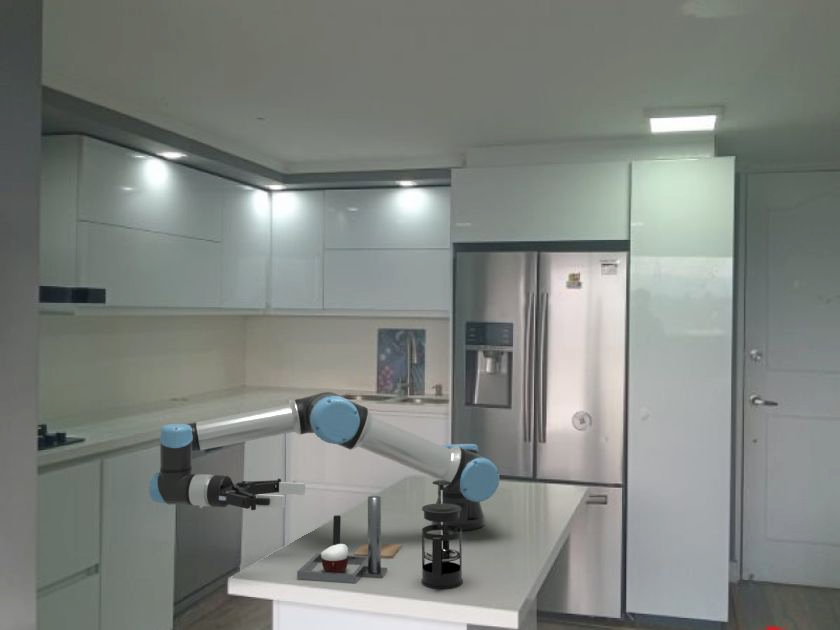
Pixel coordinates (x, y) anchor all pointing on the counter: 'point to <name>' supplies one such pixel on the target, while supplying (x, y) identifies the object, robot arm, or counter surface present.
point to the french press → (441, 545)
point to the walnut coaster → (386, 550)
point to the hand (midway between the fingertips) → (294, 495)
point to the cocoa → (335, 551)
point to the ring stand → (368, 564)
